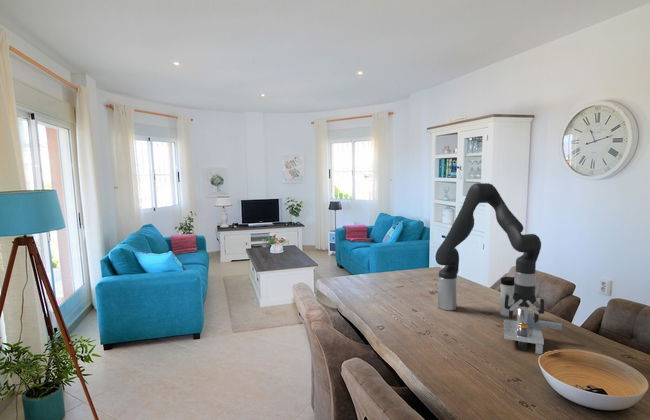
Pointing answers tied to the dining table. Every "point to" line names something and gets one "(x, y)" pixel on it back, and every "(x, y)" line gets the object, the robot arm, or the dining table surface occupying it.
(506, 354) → the dining table surface
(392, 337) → the dining table surface
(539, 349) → the grey metal bracket
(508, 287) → the travel mug
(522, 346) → the pin
